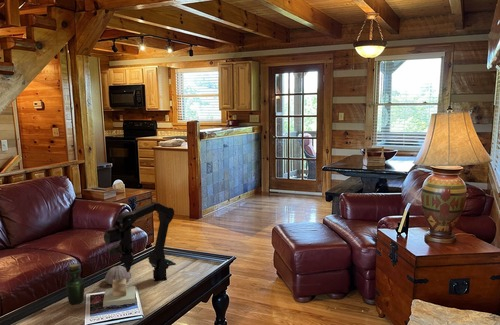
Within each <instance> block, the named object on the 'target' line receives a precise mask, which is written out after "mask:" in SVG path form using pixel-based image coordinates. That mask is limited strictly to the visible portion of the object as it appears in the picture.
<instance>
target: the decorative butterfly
mask: <svg viewBox="0 0 500 325" xmlns="http://www.w3.org/2000/svg"><path fill="white" fill-rule="evenodd" d="M165 262H167V263H168V264H170V263H173V264H172V265H177V263H176V262H174V261H172V260H170V259H168V258H165Z"/></svg>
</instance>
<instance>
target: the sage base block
mask: <svg viewBox="0 0 500 325" xmlns="http://www.w3.org/2000/svg"><path fill="white" fill-rule="evenodd" d="M103 295H104V296H103V301H102V305H103V306H102V307H104V306H109V305H123V304H132V303H135V304H136V286H135V285H132V286H127V293H126V296H120V297H113V288H107V289H106V288H105V291H104V294H103Z"/></svg>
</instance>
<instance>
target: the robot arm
mask: <svg viewBox="0 0 500 325" xmlns="http://www.w3.org/2000/svg"><path fill="white" fill-rule="evenodd" d="M154 212H157V213H158V216H157V218H158V221H159V224H158V229H157V234H156V240H155V244H154V247H153V248H154V249H153V250H152V251H149V253H148V258H147V259H148V263H149V264H150V265H151V267H152V268H153V269H152V274H153V276H152V277H153V278H152V279H154V280H153V281H154V282H159V281H160V282H161V281H167V279H168V277H167V269H169V268H170V267H169V266H170V263H167V262H165V259H166V254H165V250H164V249H165V245H166V240H167V236H168V231H169V226H170V223H171V222H172V220H173V218H174V215H175V210H174V208H173V207H170V206H165V205H163V204H161V203H159V202H156V201H152V202H150V203H148V204H146V205H143V206H142V207H141V206H140V207H139V208H137V209H135V210H132V211H125V212H121V213H119V214H118V215H117V217H116V220H115V221H114V224H113V226H112V228H110V229H109V228H108V229H105V231H104V234H103V240H104V243H105V244H106V245H110V244H113V243H116V242H118V243H117V244H114V245H112V246H110V247H108V249H107V250H108V252H109V255H110V256H111V257H113V256H115V255H117V254H118V253H119V254H120V256H119V261H120V263H122V264H124V267H125V268H126V271H127V272H129V271H130V270H131V268H132V265H133V264H134V261H135V257H134V244H133V232H132V231H133V230H134V229H135V228H136V226H134V225H133V224H135V223H136V221H137V220H138V219H141V218H142V217H144V216H147V215H149V214H151V213H154ZM130 272H131V271H130Z"/></svg>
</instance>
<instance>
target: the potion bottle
mask: <svg viewBox="0 0 500 325" xmlns="http://www.w3.org/2000/svg"><path fill="white" fill-rule="evenodd" d="M69 268H70V269H69V270H68V271H67V274H68V275H70V279H68V280H67V281H66V283H65V288H66V292H67V294H66V295H67V301H68V304H70V305H78V304H81V303H83V302H84V300H85V279H84V278H82V277H80V276H79V275H80V273H82V269H81V268H80V267H79V263H71V264H70V265H69Z"/></svg>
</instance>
